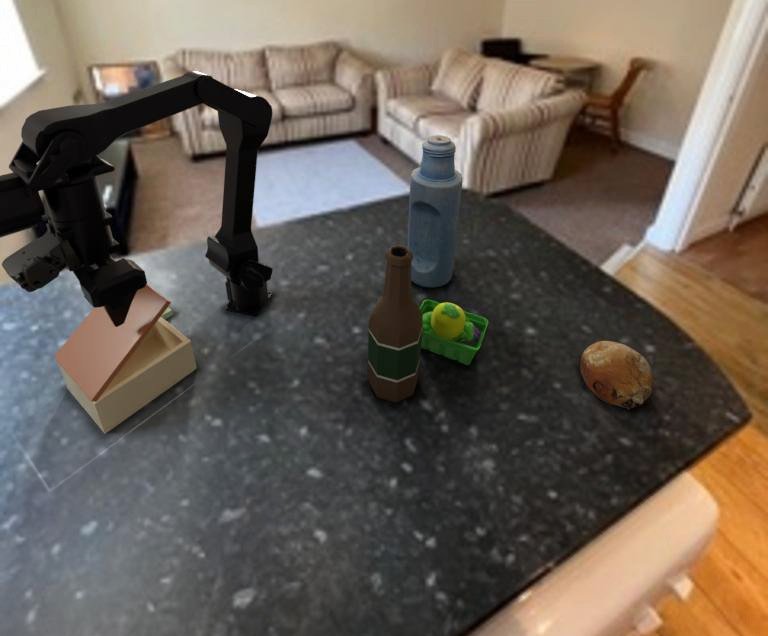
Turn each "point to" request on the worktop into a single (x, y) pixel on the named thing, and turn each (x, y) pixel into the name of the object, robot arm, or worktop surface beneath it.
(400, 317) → the beer bottle
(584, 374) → the brown oval lump
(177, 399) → the worktop surface
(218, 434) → the worktop surface
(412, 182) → the bottle
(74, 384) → the wooden box
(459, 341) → the fruit basket
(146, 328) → the box lid
